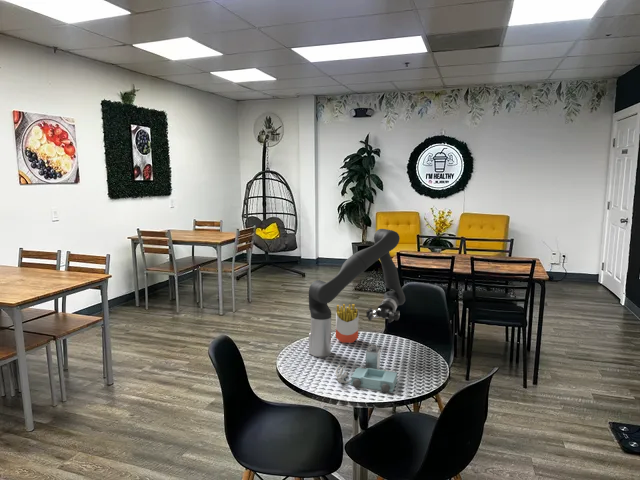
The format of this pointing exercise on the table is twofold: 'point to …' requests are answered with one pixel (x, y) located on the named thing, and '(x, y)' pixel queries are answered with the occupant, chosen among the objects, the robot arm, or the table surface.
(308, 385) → the table surface
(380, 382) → the chassis
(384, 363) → the table surface
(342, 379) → the soldier figure
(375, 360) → the knobbed metal block
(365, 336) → the table surface
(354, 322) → the french fries container
